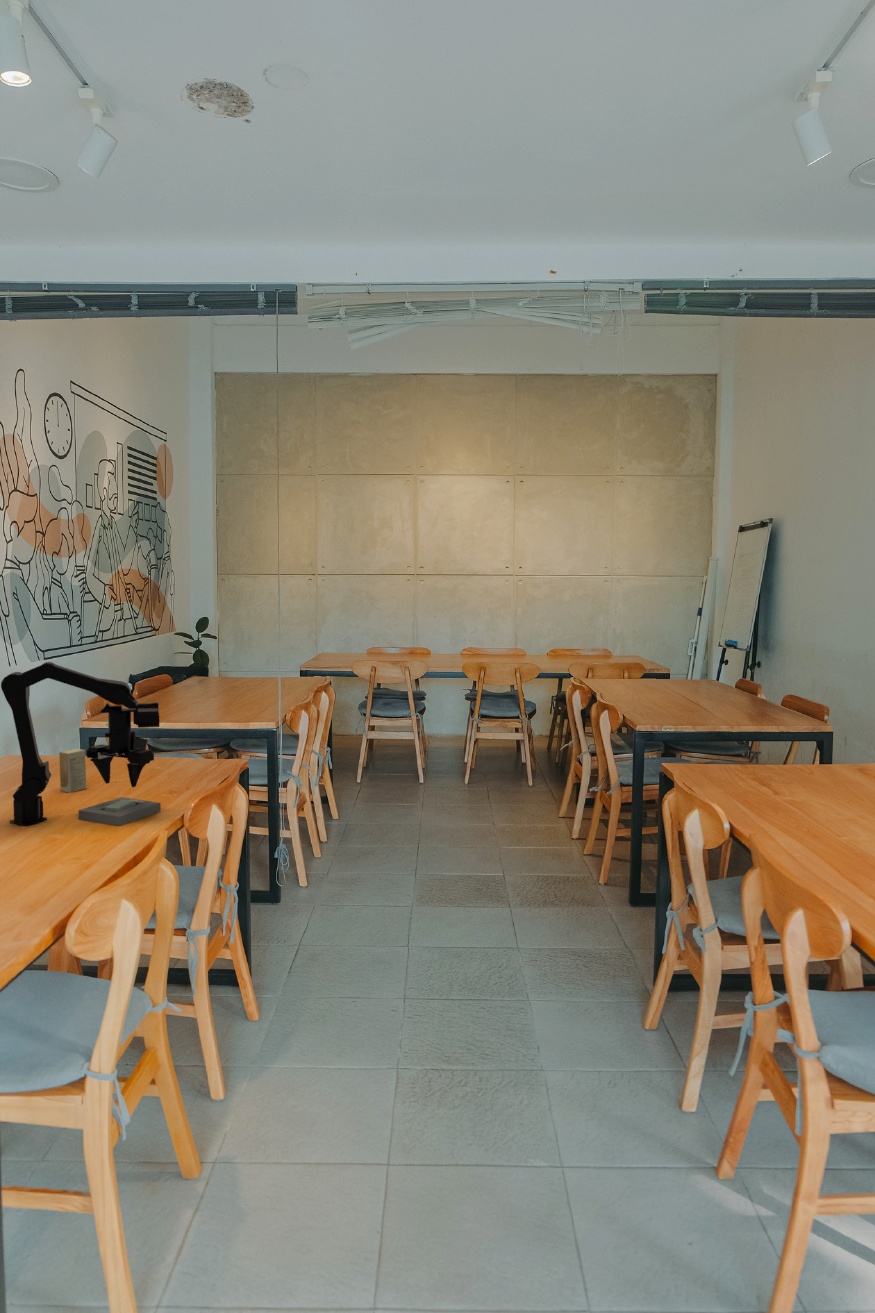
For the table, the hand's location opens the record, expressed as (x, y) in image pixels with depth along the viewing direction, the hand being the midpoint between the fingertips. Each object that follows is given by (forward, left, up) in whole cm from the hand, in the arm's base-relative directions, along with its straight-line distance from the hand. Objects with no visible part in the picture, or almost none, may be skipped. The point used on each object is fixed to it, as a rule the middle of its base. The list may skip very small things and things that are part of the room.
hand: (120, 785), depth 220 cm
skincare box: (+15, +33, -9) cm, 37 cm away
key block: (0, 0, -9) cm, 9 cm away
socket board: (0, 0, -8) cm, 8 cm away
